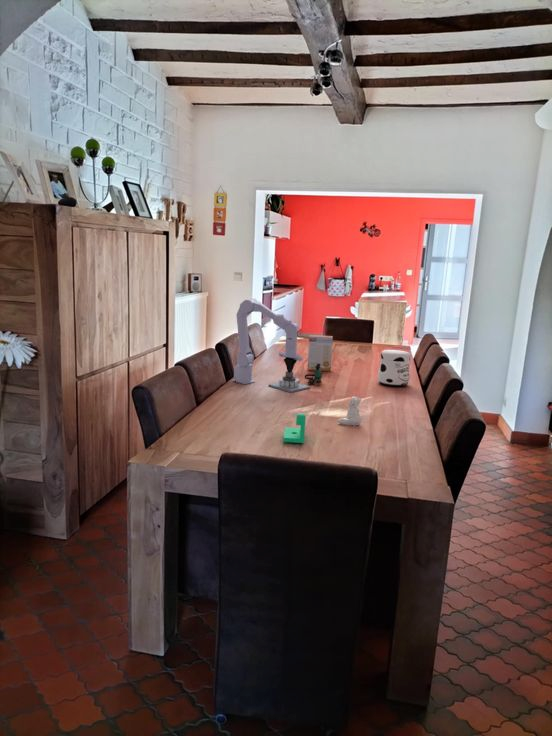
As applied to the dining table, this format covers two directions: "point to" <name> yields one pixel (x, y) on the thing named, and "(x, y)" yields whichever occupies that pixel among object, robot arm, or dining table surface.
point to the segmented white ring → (289, 383)
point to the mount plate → (300, 387)
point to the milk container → (394, 368)
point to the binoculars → (317, 376)
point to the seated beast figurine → (352, 413)
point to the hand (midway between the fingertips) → (289, 372)
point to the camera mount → (296, 431)
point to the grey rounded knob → (289, 376)
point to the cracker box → (320, 352)
